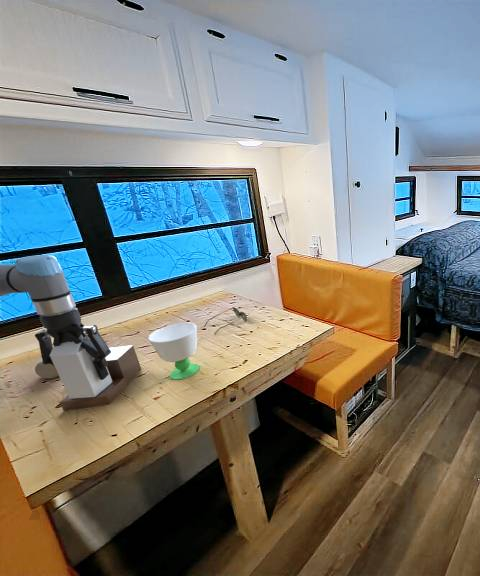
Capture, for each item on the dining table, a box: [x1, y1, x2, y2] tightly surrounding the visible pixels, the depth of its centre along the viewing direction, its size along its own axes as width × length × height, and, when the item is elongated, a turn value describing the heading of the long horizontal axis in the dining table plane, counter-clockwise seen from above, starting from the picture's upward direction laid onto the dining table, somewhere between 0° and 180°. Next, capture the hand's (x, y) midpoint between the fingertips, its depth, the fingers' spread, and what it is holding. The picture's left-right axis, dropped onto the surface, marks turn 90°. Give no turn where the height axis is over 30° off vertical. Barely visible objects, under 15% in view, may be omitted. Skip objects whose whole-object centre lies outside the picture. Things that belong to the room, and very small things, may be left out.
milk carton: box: [50, 335, 112, 399], centre depth 90 cm, size 7×7×19 cm
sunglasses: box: [204, 306, 248, 335], centre depth 140 cm, size 14×15×5 cm
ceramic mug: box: [34, 359, 59, 379], centre depth 107 cm, size 11×8×8 cm
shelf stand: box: [59, 344, 142, 411], centre depth 97 cm, size 12×18×10 cm, turn 11°
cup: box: [148, 322, 201, 381], centre depth 104 cm, size 14×14×16 cm
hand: (87, 379), depth 92 cm, fingers open, 8 cm apart
